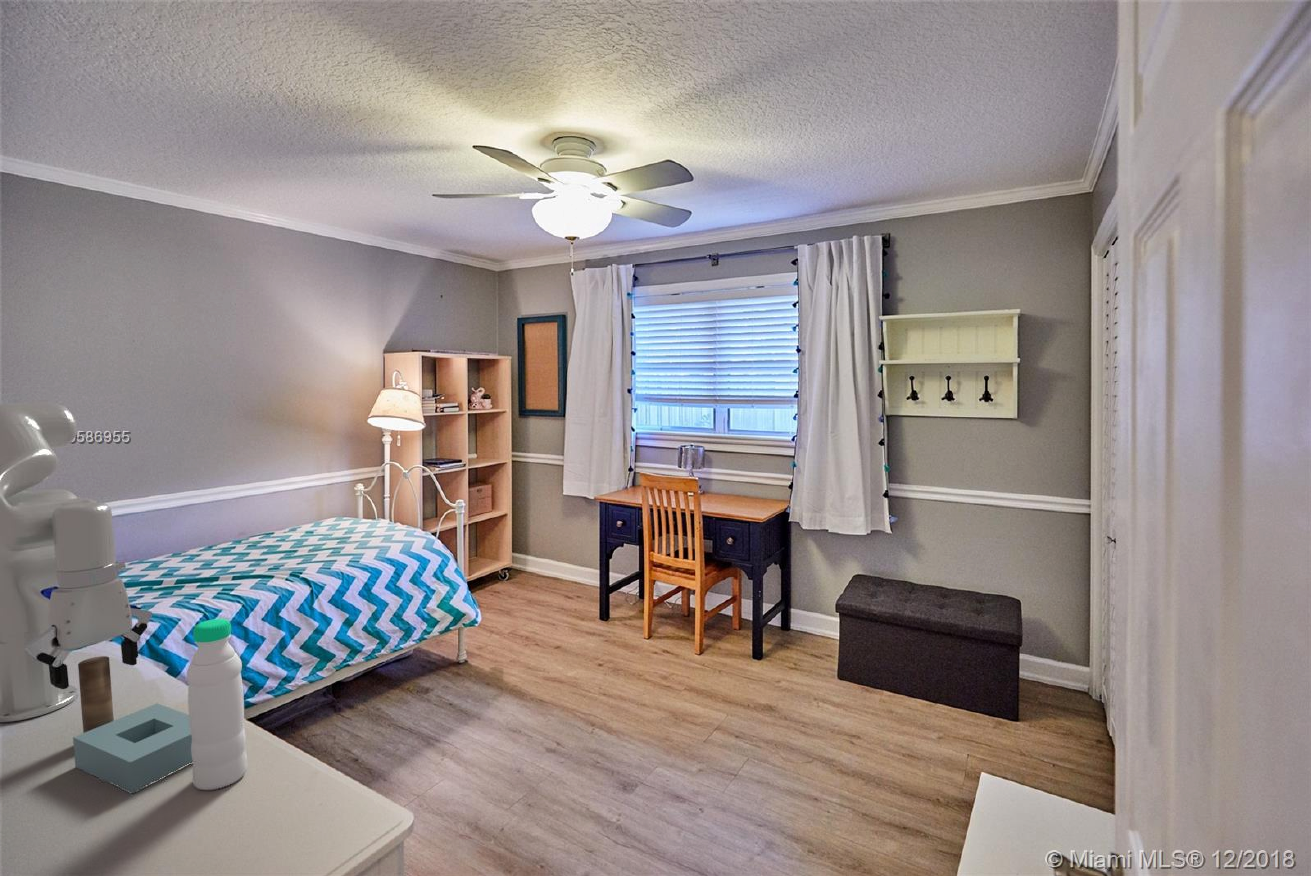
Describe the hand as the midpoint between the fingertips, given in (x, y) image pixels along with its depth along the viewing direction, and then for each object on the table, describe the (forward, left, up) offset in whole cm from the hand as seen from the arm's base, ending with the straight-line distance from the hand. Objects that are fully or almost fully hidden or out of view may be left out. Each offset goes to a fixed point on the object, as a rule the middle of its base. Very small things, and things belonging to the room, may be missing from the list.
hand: (96, 675), depth 110 cm
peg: (-1, 0, -12) cm, 12 cm away
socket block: (+13, 0, -12) cm, 18 cm away
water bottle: (+29, +2, -12) cm, 32 cm away
